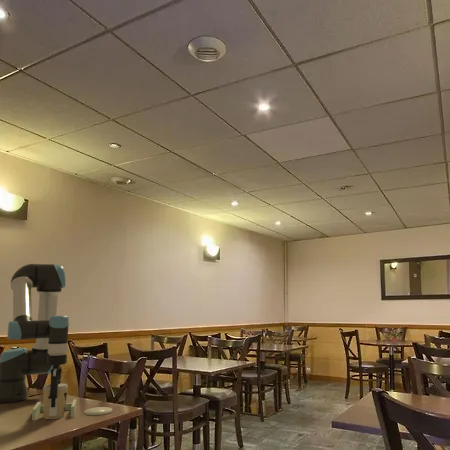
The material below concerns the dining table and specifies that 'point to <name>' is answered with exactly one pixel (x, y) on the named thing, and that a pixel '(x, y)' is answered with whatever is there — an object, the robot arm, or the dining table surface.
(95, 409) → the coaster
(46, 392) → the coffee cup
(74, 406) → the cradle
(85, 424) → the dining table surface
